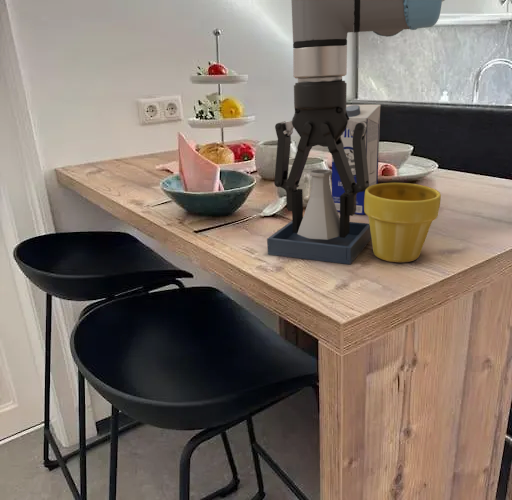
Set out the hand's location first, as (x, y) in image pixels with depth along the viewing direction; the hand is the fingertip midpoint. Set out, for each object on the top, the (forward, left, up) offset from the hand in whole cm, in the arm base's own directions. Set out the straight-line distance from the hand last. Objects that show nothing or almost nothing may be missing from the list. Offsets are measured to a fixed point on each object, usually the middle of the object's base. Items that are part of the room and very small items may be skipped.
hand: (320, 232), depth 79 cm
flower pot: (-12, +1, -2) cm, 12 cm away
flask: (0, 0, 0) cm, 0 cm away
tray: (0, 0, -2) cm, 2 cm away
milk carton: (+1, -23, -3) cm, 23 cm away
